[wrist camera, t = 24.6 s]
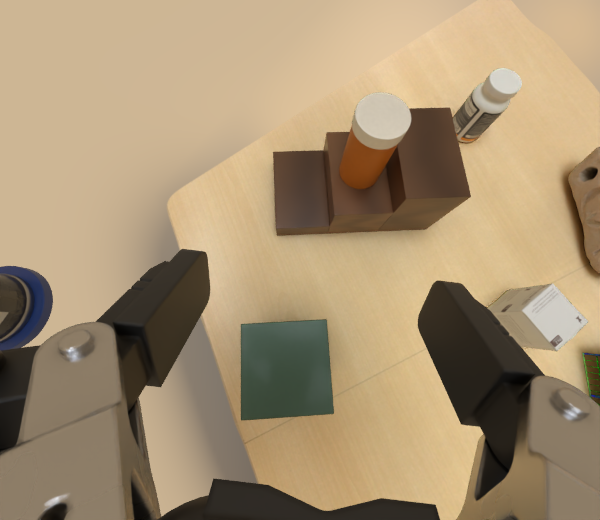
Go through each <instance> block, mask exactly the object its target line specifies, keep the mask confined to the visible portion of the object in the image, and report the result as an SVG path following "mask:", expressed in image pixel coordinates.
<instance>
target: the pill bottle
mask: <svg viewBox="0 0 600 520" xmlns="http://www.w3.org/2000/svg"><path fill="white" fill-rule="evenodd" d="M521 86H522V81H521V78H520V77H519V75H518V74H517V73H515V72H514V71H512V70H510V69H506V68H499V69H496V70H494V71H493V72H492V73H491V74H490V75H489V76H488V77H487V78H486V80H485V82H483V83H481V84H479V85H478V86H477V87H476V88H475V89H474V90H473V92H472V93H471V94H470V96H469V97H468V98H467V99H466V101H465V102H464V104H463V105H462V106H461V108H460V109H459V110H458V111H457V113H456V114H455V115H454V117H453V122H454V127H455V131H456V135H457V139H458V141H461V142H472V141H474V140H476V139H477V138H478V137H479V136H480V135H481V134H482V133H483V132H484V131H485V130H486V129H487V128H488V127H489V126H490V125H491V124H492V123H493V122H494V121H495V120H496V119H497V118H498V117H499V116H500V115H501V114H502V113H503V112H504V111H505V110H506V108H507V107H508V105H509V103H510V99H511V98H512V97H514V96H515V94H516V93H517V92H518V91H519V90H520V88H521Z"/></svg>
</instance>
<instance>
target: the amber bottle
mask: <svg viewBox="0 0 600 520" xmlns="http://www.w3.org/2000/svg"><path fill="white" fill-rule="evenodd" d="M410 124H411V113H410V110H409V108H408V106H407V105H406V104H405V103H404V102H403V101H402V100H401V99H400V98H398V97H396V96H394V95H392V94H389V93H381V92H379V93H372V94H369V95H367V96H365V97H364V98H363V99H361V100H360V102H359V103H358V104H357V107H356V110H355V113H354V117H353V120H352V127H351V130H350V133H349V137H348V140H347V143H346V147H345V150H344V153H343V157H342V160H341V163H340V167H339V173H340V176H341V178H342V180H343V181H344V182H345V183H346V184H347V185H348V186H350V187H352V188H355V189H366V188H369V187H371V186H372V185H374V184H375V183H376V181H377V180H378V178H379V176H380V175H381V173H382V171H383V169H384V168H385V166H386V164H387V163H388V161H389V159H390V157H391V156H392V154H393V152H394V151H395V149H396V147H397V145H398V144H399V143H400V141H401V140H402V139H403V137H404V135H405V134H406V132H407V130H408V129H409V127H410Z"/></svg>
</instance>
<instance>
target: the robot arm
mask: <svg viewBox="0 0 600 520" xmlns="http://www.w3.org/2000/svg"><path fill="white" fill-rule="evenodd" d="M209 296H210V280H209V269H208V258H207V254H206V252H203V251H195V250H186V249H182V250H180V251H179V252H178V253H177V254H176V255H175V256H174V258H173V259H172V260H171V261H170V262H166V261H164V262H163V263H160V264H158V265H157V266H155V267H153V268H151V269H149V270H148V271H147V272H146V273H145V274H144V275H143V276H142V277H141V278H140V281H137V282H136V283H135V284H134V285H133V286H132V288H131V289H129V290H128V291H127V292H126V293H125V294H124V295H123V296H122V297H121V298H120V299H119V300H118V301H117V302H116V303H114V305H112V306H111V307H110V309H108V310H107V311H106V312H105V313H104V314H103V315H102V316H101V317H100V318H99V319H98V320H97V321H96V322H89V323H82V324H77V325H74V326H71V327H69V328H66V329H64V330H62V331H60V332H58V333H57V334H55V335H53V336H51V337H50V338H49V339H47V340H46V341H45V342H44V343H43V344H42V345H40V346H33V347H25V348H17V349H9V350H0V520H440V518H439V515H438V511H437V508H436V505H432V504H424V503H416V502H407V501H399V500H390V499H382V498H381V499H377V500H373V501H369V502H365V503H361V504H356V505H352V506H348V507H344V508H340V509H336V510H332V511H322V510H320V509H317V508H315V507H313V506H311V505H309V504H307V503H305V502H303V501H301V500H298V499H296V498H294V497H292V496H290V495H288V494H286V493H284V492H282V491H280V490H277V489H275V488H273V487H271V486H269V485H263V484H254V483H246V482H238V481H229V480H221V479H213V482H212V486H211V489H210V493H209V495H208V496H204V497H200V498H197V499H195V500H192V501H189V502H187V503H184V504H183V505H181V506H179V507H177V508H175V509H173V510H171V511H169V512H168V513H166V514H165V515H164V516H162V517H161V514H160V509H159V503H158V498H157V493H156V489H155V485H154V481H153V477H152V473H151V469H150V463H149V458H148V451H147V446H146V438H145V433H144V426H143V420H142V413H141V407H140V401H139V398H138V397H139V395H140V394H141V392H142V390H143V389H144V387H145V386H146V385H147V386H156V387H161V386H162V384H163V382H164V380H165V379H166V377H167V375H168V373H169V371H170V370H171V368H172V366H173V364H174V362H175V361H176V359H177V357H178V355H179V354H180V352H181V350H182V348H183V346H184V345H185V343H186V341H187V339H188V337H189V336H190V334H191V332H192V330H193V328H194V327H195V325H196V323H197V321H198V319H199V318H200V316H201V314H202V312H203V311H204V309H205V307H206V305H207V303H208V300H209ZM33 308H34V294H33V291H32V288H31V287H30V285H29V284H28V283H27V282H26V281H25V280H24V279H22V278H20V277H18V276H14V275H9V274H2V273H0V343H2V342H4V341H6V340H8V339H10V338H12V337H13V336H15V335H16V334H17V333H18V332H19V331H21V330H22V328H23V327H24V326H25V325H26V323H27V322H28V320H29V319H30V317H31V314H32V312H33ZM418 328H419V331H420V334H421V336H422V338H423V340H424V343H425V345H426V347H427V349H428V352H429V354H430V356H431V358H432V360H433V363H434V365H435V367H436V369H437V371H438V374H439V376H440V378H441V380H442V383H443V385H444V387H445V389H446V391H447V394H448V396H449V398H450V400H451V403H452V405H453V407H454V409H455V411H456V414H457V416H458V418H459V420H460V423H461V424H462V425H471V426H479V427H481V429H482V431H483V433H484V434H483V435H482V436H481V437H480V439H479V441H478V444H477V449H476V453H475V458H474V462H473V467H472V471H471V476H470V481H469V485H468V490H467V494H466V499H465V502H464V506H463V508H462V510H461V513H460V514H459V516H458V518H457V519H456V520H600V406H599V405H598V404H597V403H596V402H595V401H594V400H592V399H591V398H590V397H589V396H587V395H586V394H585V393H583V392H582V391H580V390H579V389H577V388H576V387H574V386H572V385H570V384H568V383H566V382H564V381H562V380H559V379H557V378H553V377H549V376H545V375H544V374H543V373H542V372H541V370H540V369H539V368H538V367H537V366H536V364H535V363H534V362H533V361H532V360H531V358H530V357H529V356H528V355H527V354H526V353H525V351H524V350H523V349H522V348H521V347H520V345H519V344H518V343H517V342H516V341H515V339H514V338H513V337H512V336H509V332H508V331H507V330H506V329H505V328H504V326H503V325H500V322H499V320H498V319H497V318H496V317H495V316H494V314H493V313H492V312H491V311H490V310H489V309H487V308H486V307H485V306H483V305H482V304H481V303H479V302H478V301H477V300H475V299H474V298H473V296H472V295H471V294H470V293H469V292H468V290H467V289H466V288H465V287H464V285H462V284H460V283H454V282H445V281H436V282H435V283H434V284H433V285H432V287H431V289H430V291H429V294H428V296H427V298H426V300H425V302H424V305H423V307H422V309H421V311H420V314H419V317H418Z"/></svg>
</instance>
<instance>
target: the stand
mask: <svg viewBox="0 0 600 520" xmlns="http://www.w3.org/2000/svg"><path fill="white" fill-rule="evenodd" d="M325 414H334V408H333V395H332V382H331V369H330V356H329V343H328V330H327V320H326V319H324V320H306V321H288V322H270V323H252V324H241V420H254V419H269V418H283V417H297V416H311V415H325Z"/></svg>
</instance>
